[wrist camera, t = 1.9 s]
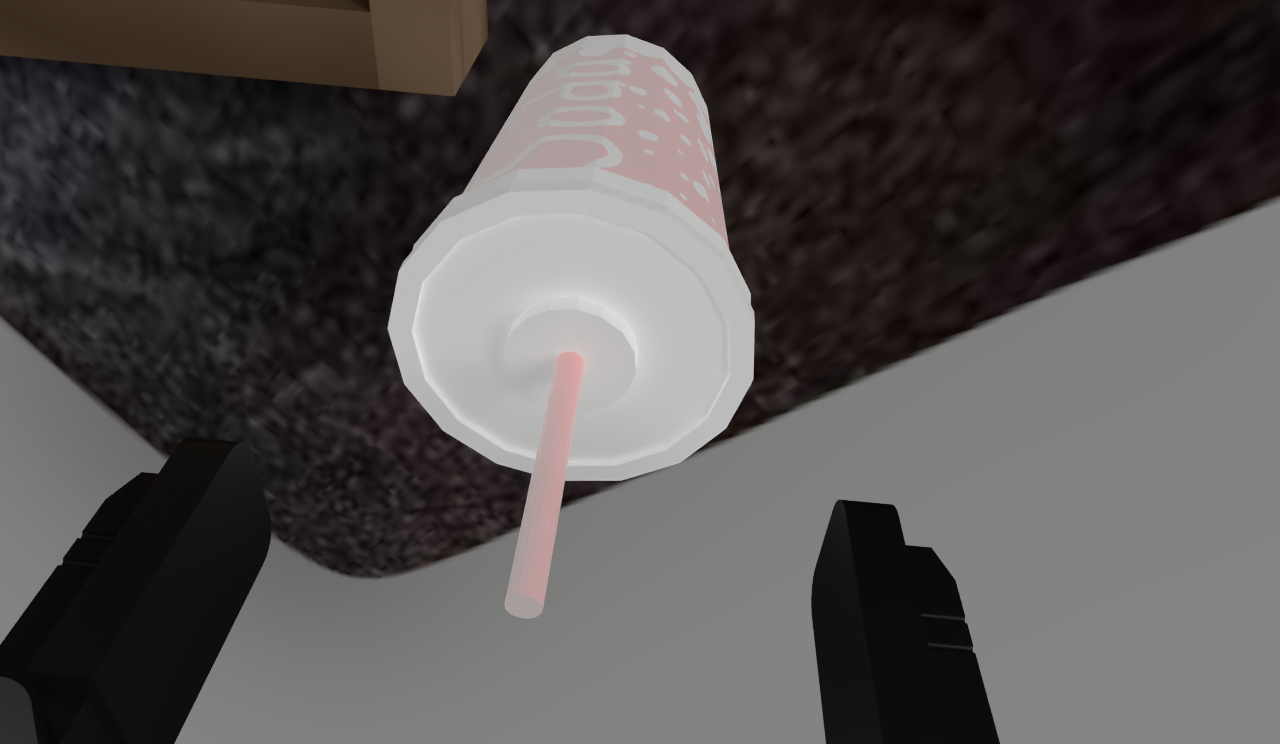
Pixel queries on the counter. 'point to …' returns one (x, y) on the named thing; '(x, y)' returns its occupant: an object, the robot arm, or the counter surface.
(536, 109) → the beverage cup
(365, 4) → the base plinth
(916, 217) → the counter surface
